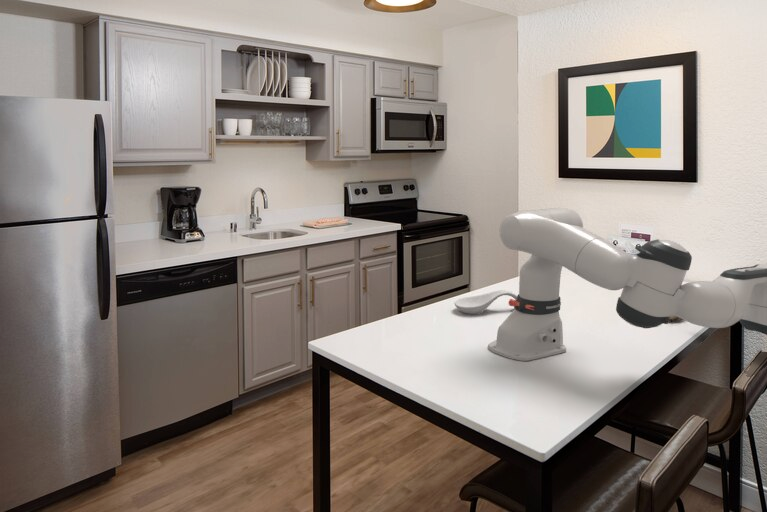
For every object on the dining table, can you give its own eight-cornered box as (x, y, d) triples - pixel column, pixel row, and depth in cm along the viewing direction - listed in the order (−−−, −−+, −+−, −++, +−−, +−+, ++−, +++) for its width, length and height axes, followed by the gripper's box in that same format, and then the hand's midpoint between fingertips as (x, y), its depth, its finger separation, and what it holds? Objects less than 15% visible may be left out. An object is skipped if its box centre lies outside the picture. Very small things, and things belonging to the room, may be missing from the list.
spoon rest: (458, 318, 185) (459, 297, 184) (451, 308, 197) (451, 288, 195) (527, 315, 188) (527, 294, 186) (515, 305, 199) (516, 286, 198)
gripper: (724, 323, 153) (678, 311, 165) (767, 312, 162) (720, 301, 175) (727, 301, 152) (680, 290, 164) (769, 291, 161) (722, 282, 173)
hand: (701, 296), depth 169 cm, fingers open, 8 cm apart
